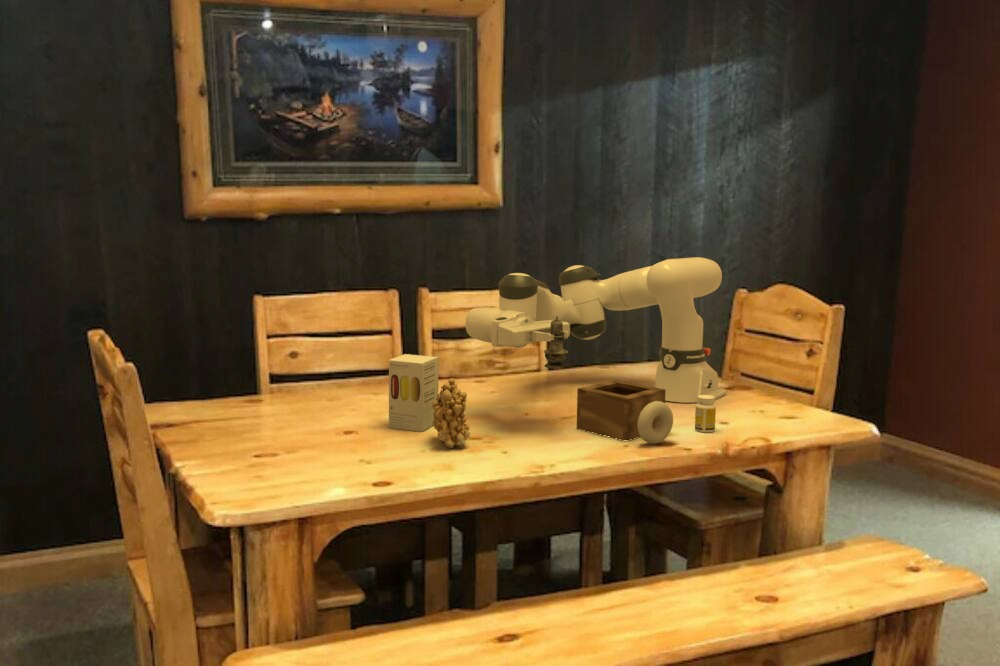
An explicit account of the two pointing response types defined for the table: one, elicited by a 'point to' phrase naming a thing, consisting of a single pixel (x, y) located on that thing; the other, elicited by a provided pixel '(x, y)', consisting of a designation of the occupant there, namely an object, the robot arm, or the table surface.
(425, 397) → the supplement box
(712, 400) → the supplement bottle
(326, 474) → the table surface
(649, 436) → the donut
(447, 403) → the mineral formation
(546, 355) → the salt shaker
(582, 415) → the box
